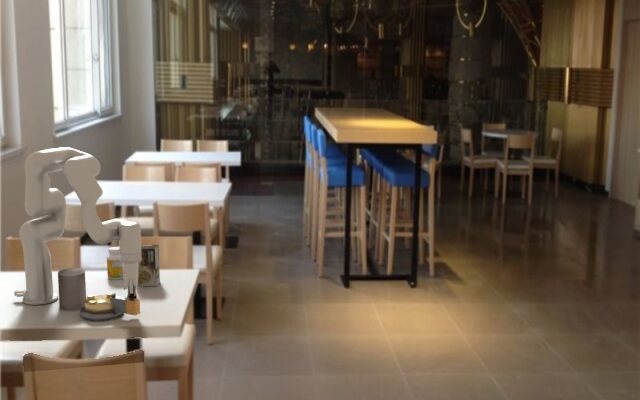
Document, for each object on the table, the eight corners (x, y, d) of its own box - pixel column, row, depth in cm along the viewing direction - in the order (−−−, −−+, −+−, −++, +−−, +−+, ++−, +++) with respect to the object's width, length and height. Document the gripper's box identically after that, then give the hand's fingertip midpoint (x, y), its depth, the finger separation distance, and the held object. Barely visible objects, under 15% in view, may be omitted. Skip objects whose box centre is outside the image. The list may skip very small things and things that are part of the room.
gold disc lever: (77, 310, 255) (76, 294, 254) (99, 301, 266) (99, 285, 265) (127, 320, 246) (126, 303, 245) (148, 309, 257) (147, 293, 256)
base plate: (78, 322, 249) (78, 316, 249) (82, 308, 264) (81, 302, 263) (122, 319, 253) (122, 313, 252) (124, 306, 267) (123, 299, 267)
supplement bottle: (107, 275, 305) (106, 246, 303) (124, 274, 307) (123, 245, 305) (107, 280, 299) (106, 250, 296) (125, 279, 301) (124, 249, 298)
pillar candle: (56, 305, 267) (53, 267, 264) (81, 300, 273) (79, 262, 270) (64, 312, 260) (62, 273, 257) (90, 307, 266) (88, 269, 263)
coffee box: (160, 281, 298) (159, 244, 295) (156, 286, 291) (155, 248, 288) (138, 281, 298) (137, 244, 295) (134, 286, 291) (133, 248, 288)
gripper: (120, 251, 260) (122, 299, 263) (118, 262, 245) (120, 313, 249) (141, 250, 261) (143, 298, 265) (141, 261, 247) (142, 311, 251)
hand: (132, 305), depth 257 cm, fingers closed
